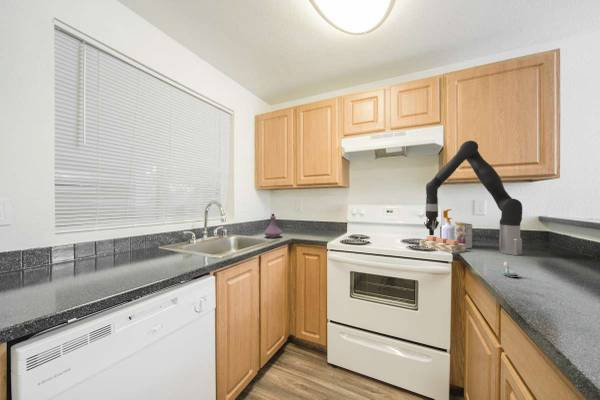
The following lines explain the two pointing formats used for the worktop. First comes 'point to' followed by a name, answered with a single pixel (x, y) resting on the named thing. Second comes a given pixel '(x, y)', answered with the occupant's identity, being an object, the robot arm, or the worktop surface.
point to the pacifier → (508, 270)
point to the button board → (443, 246)
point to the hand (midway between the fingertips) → (431, 235)
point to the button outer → (431, 238)
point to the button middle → (441, 240)
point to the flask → (272, 229)
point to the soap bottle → (447, 227)
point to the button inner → (452, 242)
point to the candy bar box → (463, 233)
